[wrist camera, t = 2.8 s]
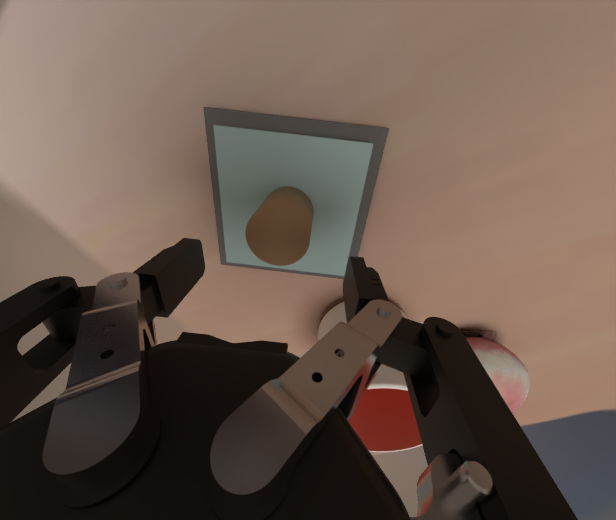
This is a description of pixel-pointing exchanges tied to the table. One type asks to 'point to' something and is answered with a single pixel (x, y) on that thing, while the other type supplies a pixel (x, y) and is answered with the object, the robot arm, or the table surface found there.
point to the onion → (501, 368)
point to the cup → (380, 403)
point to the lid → (289, 197)
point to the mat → (303, 128)
